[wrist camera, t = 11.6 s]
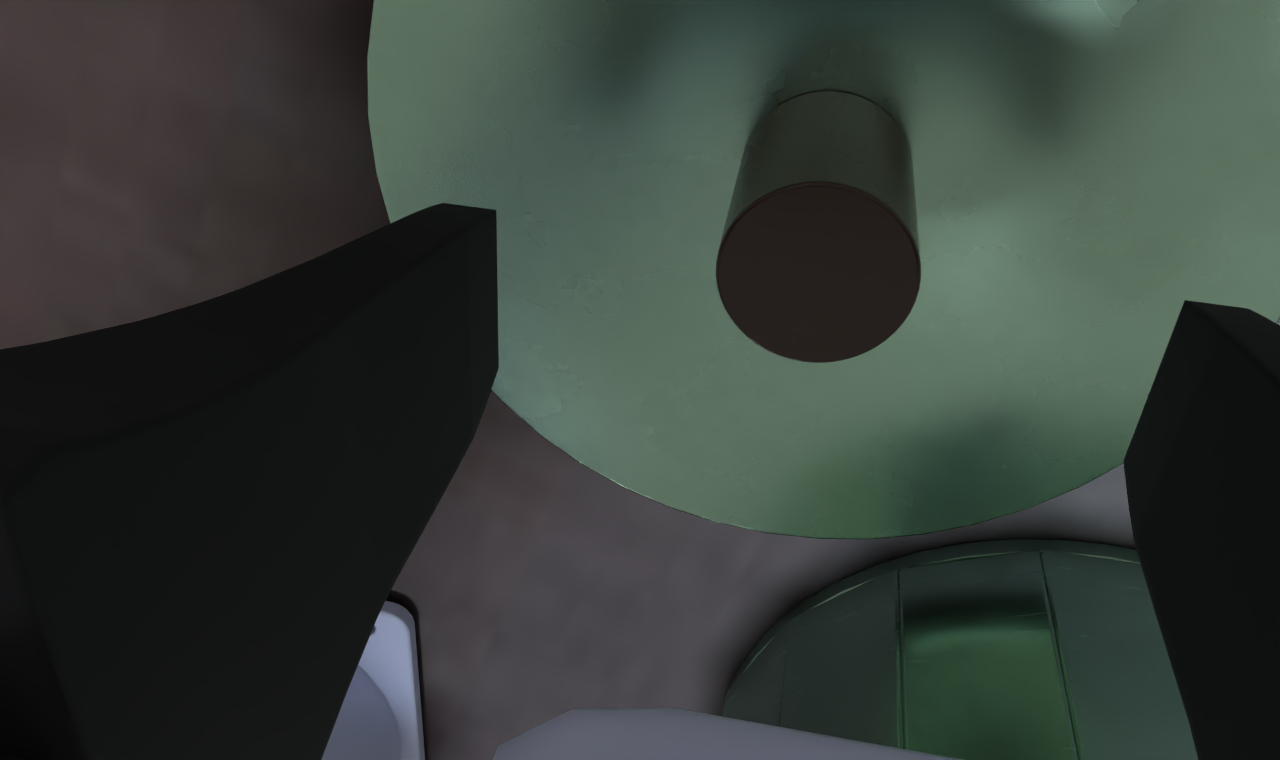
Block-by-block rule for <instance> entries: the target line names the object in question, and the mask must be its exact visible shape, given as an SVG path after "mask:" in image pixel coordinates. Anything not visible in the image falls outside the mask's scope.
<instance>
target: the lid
mask: <svg viewBox="0 0 1280 760" xmlns="http://www.w3.org/2000/svg"><path fill="white" fill-rule="evenodd" d="M367 97H368V121H369V128H370V135H371V142H372V149H373V156H374V163H375V169H376V175H377V178H378V182H379V186H380V189H381V193H382V196H383V200H384V204H385V207H386V211H387V215H388V218H389V222H390V223H392V222H395V221H397V220H399V219H401V218H403V217H406V216H408V215H410V214H413V213H415V212H417V211H420V210H422V209H425V208H428V207H430V206H434V205H437V204H440V203H448V204H455V205H463V206H471V207H478V208H486V209H493V210H496V219H497V284H498V349H499V369H498V372H497V375H496V377H495V380H494V383H493V386H492V389H491V390H492V391H493V392H494V393H495V395H496V396H497V397H498V398H499V399H500V400H501V401H502V402H503V403H504V404H505V405H507V406H508V407H509V408H510V409H511V410H512V411H513V412H514V413H516V414H517V415H518V416H519V417H520V418H521V419H522V420H524V421H525V422H526V423H527V424H528V425H529V426H530V427H531V428H533V429H534V430H535V431H536V432H537V433H538V434H539V435H541V436H542V437H544V438H545V439H547V440H548V441H549V442H551V443H552V444H554V445H555V446H556V447H558V448H559V449H561V450H562V451H564V452H565V453H566V454H568V455H569V456H571V457H572V458H573V459H575V460H576V461H578V462H579V463H581V464H582V465H584V466H586V467H588V468H590V469H591V470H593V471H595V472H597V473H599V474H600V475H602V476H604V477H606V478H607V479H609V480H611V481H613V482H615V483H616V484H618V485H620V486H622V487H623V488H626V489H628V490H630V491H633V492H635V493H637V494H640V495H642V496H644V497H647V498H649V499H651V500H654V501H656V502H658V503H660V504H663V505H665V506H667V507H670V508H673V509H676V510H679V511H682V512H686V513H689V514H692V515H695V516H698V517H701V518H704V519H708V520H711V521H714V522H717V523H722V524H726V525H731V526H736V527H741V528H745V529H750V530H755V531H760V532H764V533H771V534H780V535H790V536H799V537H808V538H817V539H876V538H888V537H899V536H910V535H921V534H927V533H932V532H937V531H943V530H948V529H953V528H958V527H964V526H969V525H974V524H978V523H981V522H984V521H988V520H991V519H994V518H998V517H1001V516H1005V515H1008V514H1011V513H1015V512H1018V511H1021V510H1025V509H1028V508H1030V507H1033V506H1035V505H1037V504H1040V503H1042V502H1045V501H1047V500H1050V499H1052V498H1054V497H1057V496H1059V495H1062V494H1064V493H1066V492H1069V491H1071V490H1074V489H1076V488H1079V487H1080V486H1082V485H1084V484H1086V483H1088V482H1090V481H1092V480H1093V479H1095V478H1097V477H1099V476H1101V475H1103V474H1104V473H1106V472H1108V471H1110V470H1112V469H1114V468H1115V467H1117V466H1119V465H1121V464H1123V463H1124V458H1125V455H1126V453H1127V450H1128V447H1129V445H1130V442H1131V439H1132V437H1133V434H1134V432H1135V429H1136V426H1137V424H1138V421H1139V419H1140V416H1141V413H1142V411H1143V408H1144V405H1145V403H1146V400H1147V398H1148V395H1149V392H1150V390H1151V387H1152V384H1153V382H1154V379H1155V377H1156V374H1157V371H1158V369H1159V366H1160V364H1161V361H1162V358H1163V356H1164V353H1165V350H1166V348H1167V345H1168V343H1169V340H1170V337H1171V335H1172V332H1173V329H1174V327H1175V324H1176V322H1177V319H1178V316H1179V314H1180V311H1181V309H1182V306H1183V303H1184V301H1185V300H1188V301H1195V302H1203V303H1210V304H1218V305H1226V306H1233V307H1241V308H1248V309H1250V310H1252V311H1254V312H1256V313H1258V314H1260V315H1262V316H1264V317H1266V318H1268V319H1269V320H1271V321H1273V322H1274V323H1277V322H1278V320H1279V319H1280V0H373V8H372V17H371V25H370V34H369V43H368V51H367Z"/></svg>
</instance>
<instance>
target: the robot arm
mask: <svg viewBox="0 0 1280 760" xmlns="http://www.w3.org/2000/svg"><path fill="white" fill-rule="evenodd" d="M498 369H499V349H498V284H497V219H496V210H493V209H486V208H478V207H471V206H463V205H455V204H448V203H440V204H437V205H434V206H430V207H428V208H425V209H422V210H420V211H417V212H415V213H413V214H410V215H408V216H406V217H403V218H401V219H399V220H397V221H395V222H392V223H390V224H388V225H386V226H384V227H382V228H380V229H377V230H375V231H373V232H371V233H369V234H367V235H365V236H362V237H360V238H358V239H356V240H354V241H352V242H349V243H347V244H345V245H343V246H341V247H339V248H336V249H334V250H332V251H330V252H328V253H326V254H323V255H321V256H319V257H317V258H314V259H312V260H310V261H307V262H305V263H302V264H300V265H297V266H295V267H293V268H290V269H288V270H285V271H283V272H280V273H278V274H275V275H273V276H271V277H268V278H266V279H263V280H261V281H258V282H256V283H253V284H251V285H249V286H246V287H244V288H241V289H238V290H236V291H233V292H230V293H227V294H225V295H222V296H219V297H216V298H213V299H210V300H207V301H204V302H201V303H198V304H195V305H191V306H188V307H185V308H181V309H178V310H175V311H171V312H168V313H165V314H161V315H158V316H155V317H151V318H147V319H144V320H140V321H136V322H132V323H128V324H123V325H119V326H114V327H110V328H105V329H101V330H96V331H92V332H87V333H83V334H79V335H74V336H70V337H65V338H61V339H56V340H52V341H47V342H42V343H37V344H31V345H25V346H19V347H13V348H7V349H1V350H0V760H425V751H424V738H423V725H422V712H421V699H420V686H419V673H418V660H417V647H416V634H415V622H414V619H413V616H412V615H411V614H410V612H409V611H408V610H407V609H406V608H404V607H403V606H401V605H400V604H397V603H393V602H389V601H386V599H387V597H388V595H389V593H390V591H391V589H392V586H393V584H394V583H395V581H396V579H397V577H398V575H399V573H400V572H401V570H402V568H403V566H404V564H405V563H406V561H407V559H408V557H409V555H410V554H411V552H412V550H413V548H414V546H415V544H416V543H417V541H418V539H419V537H420V535H421V534H422V532H423V530H424V528H425V526H426V525H427V523H428V521H429V519H430V517H431V515H432V514H433V512H434V510H435V508H436V506H437V505H438V503H439V501H440V499H441V497H442V496H443V494H444V492H445V490H446V488H447V486H448V485H449V483H450V481H451V479H452V477H453V475H454V473H455V472H456V470H457V468H458V466H459V464H460V462H461V461H462V459H463V457H464V455H465V453H466V451H467V449H468V447H469V445H470V443H471V442H472V440H473V438H474V435H475V433H476V430H477V427H478V425H479V422H480V419H481V417H482V414H483V412H484V409H485V406H486V403H487V400H488V398H489V395H490V392H491V389H492V386H493V383H494V380H495V377H496V375H497V372H498ZM1124 468H1125V477H1126V486H1127V495H1128V504H1129V511H1130V518H1131V524H1132V531H1133V538H1134V542H1135V546H1136V549H1137V553H1138V557H1139V560H1140V564H1141V567H1142V570H1143V574H1144V577H1145V581H1146V584H1147V587H1148V591H1149V594H1150V597H1151V601H1152V604H1153V607H1154V611H1155V614H1156V617H1157V620H1158V624H1159V627H1160V630H1161V633H1162V637H1163V640H1164V643H1165V646H1166V650H1167V653H1168V656H1169V659H1170V663H1171V666H1172V669H1173V672H1174V676H1175V679H1176V682H1177V685H1178V689H1179V692H1180V695H1181V698H1182V702H1183V705H1184V708H1185V711H1186V715H1187V718H1188V721H1189V725H1190V729H1191V733H1192V737H1193V741H1194V745H1195V749H1196V753H1197V757H1198V760H1280V326H1279V325H1278V324H1276V323H1274V322H1273V321H1271V320H1269V319H1268V318H1266V317H1264V316H1262V315H1260V314H1258V313H1256V312H1254V311H1252V310H1250V309H1248V308H1241V307H1233V306H1226V305H1218V304H1210V303H1203V302H1195V301H1188V300H1185V301H1184V303H1183V306H1182V309H1181V311H1180V314H1179V316H1178V319H1177V322H1176V324H1175V327H1174V329H1173V332H1172V335H1171V337H1170V340H1169V343H1168V345H1167V348H1166V350H1165V353H1164V356H1163V358H1162V361H1161V364H1160V366H1159V369H1158V371H1157V374H1156V377H1155V379H1154V382H1153V384H1152V387H1151V390H1150V392H1149V395H1148V398H1147V400H1146V403H1145V405H1144V408H1143V411H1142V413H1141V416H1140V419H1139V421H1138V424H1137V426H1136V429H1135V432H1134V434H1133V437H1132V439H1131V442H1130V445H1129V447H1128V450H1127V453H1126V455H1125V458H1124ZM492 760H961V759H956V758H950V757H945V756H939V755H933V754H928V753H922V752H917V751H911V750H906V749H900V748H894V747H889V746H883V745H878V744H872V743H867V742H861V741H855V740H850V739H844V738H839V737H833V736H828V735H822V734H816V733H811V732H805V731H800V730H794V729H789V728H783V727H778V726H772V725H766V724H761V723H755V722H750V721H744V720H739V719H733V718H727V717H722V716H716V715H711V714H705V713H700V712H694V711H688V710H683V709H677V708H580V709H575V710H570V711H568V712H565V713H563V714H561V715H559V716H557V717H555V718H553V719H551V720H549V721H547V722H545V723H543V724H541V725H539V726H537V727H535V728H532V729H530V730H528V731H526V732H524V733H522V734H520V735H518V736H516V737H514V738H512V739H510V740H508V741H506V742H504V743H502V744H500V745H498V747H497V750H496V752H495V754H494V757H493V759H492Z"/></svg>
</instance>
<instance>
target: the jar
mask: <svg viewBox="0 0 1280 760" xmlns="http://www.w3.org/2000/svg"><path fill="white" fill-rule="evenodd" d="M722 717H727V718H733V719H739V720H744V721H750V722H755V723H761V724H766V725H772V726H778V727H783V728H789V729H794V730H800V731H805V732H811V733H816V734H822V735H828V736H833V737H839V738H844V739H850V740H855V741H861V742H867V743H872V744H878V745H883V746H889V747H894V748H900V749H906V750H911V751H917V752H922V753H928V754H933V755H939V756H945V757H950V758H956V759H961V760H1198V757H1197V753H1196V749H1195V745H1194V741H1193V737H1192V733H1191V729H1190V725H1189V721H1188V718H1187V715H1186V711H1185V708H1184V705H1183V702H1182V698H1181V695H1180V692H1179V689H1178V685H1177V682H1176V679H1175V676H1174V672H1173V669H1172V666H1171V663H1170V659H1169V656H1168V653H1167V650H1166V646H1165V643H1164V640H1163V637H1162V633H1161V630H1160V627H1159V624H1158V620H1157V617H1156V614H1155V611H1154V607H1153V604H1152V601H1151V597H1150V594H1149V591H1148V587H1147V584H1146V581H1145V577H1144V574H1143V570H1142V567H1141V564H1140V560H1139V557H1138V553H1137V550H1133V549H1129V548H1124V547H1119V546H1114V545H1109V544H1099V543H1090V542H1080V541H1071V540H1061V539H1007V540H996V541H984V542H973V543H963V544H958V545H953V546H947V547H942V548H937V549H931V550H926V551H921V552H917V553H914V554H910V555H907V556H904V557H900V558H897V559H893V560H890V561H887V562H883V563H880V564H877V565H875V566H872V567H870V568H868V569H865V570H863V571H860V572H858V573H856V574H853V575H851V576H848V577H846V578H844V579H841V580H839V581H838V582H836V583H834V584H832V585H831V586H829V587H827V588H825V589H824V590H822V591H820V592H818V593H816V594H815V595H813V596H811V597H809V598H808V599H806V600H805V601H804V602H802V603H801V604H800V605H798V606H797V607H796V608H794V609H793V610H792V611H790V612H789V613H788V614H786V615H785V616H784V617H783V618H781V619H780V620H779V621H778V622H777V623H776V624H775V625H774V626H773V627H772V628H771V629H770V630H769V631H768V632H767V633H766V634H765V635H764V636H763V637H762V638H761V639H760V640H759V641H758V642H757V644H756V645H755V646H754V648H753V649H752V651H751V652H750V653H749V655H748V656H747V658H746V659H745V660H744V662H743V663H742V665H741V666H740V668H739V670H738V672H737V674H736V676H735V678H734V680H733V683H732V685H731V687H730V689H729V690H728V692H727V693H726V695H725V699H724V706H723V712H722Z"/></svg>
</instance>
